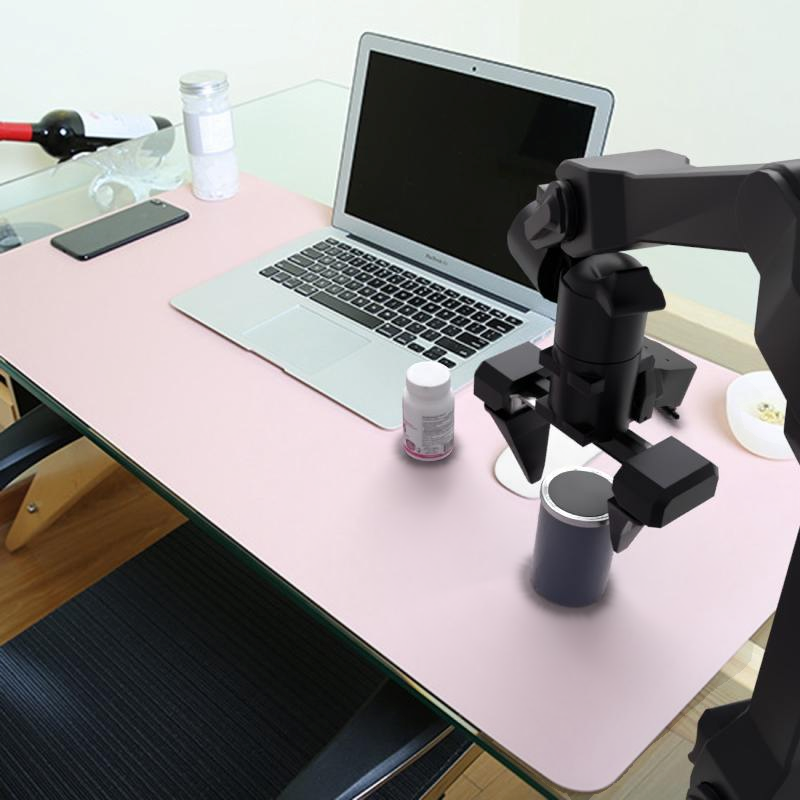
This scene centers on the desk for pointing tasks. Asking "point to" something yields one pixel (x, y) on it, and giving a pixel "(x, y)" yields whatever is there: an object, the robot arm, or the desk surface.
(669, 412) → the pen
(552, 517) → the navy blue tumbler
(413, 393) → the pill bottle
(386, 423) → the desk surface
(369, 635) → the desk surface
